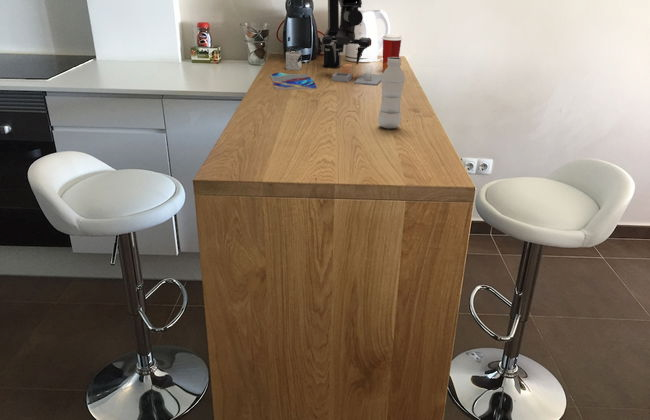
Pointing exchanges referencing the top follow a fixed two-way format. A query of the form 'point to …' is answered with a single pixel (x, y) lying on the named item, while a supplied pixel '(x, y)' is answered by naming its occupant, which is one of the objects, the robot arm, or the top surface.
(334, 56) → the robot arm
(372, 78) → the keeper
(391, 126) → the plastic bottle
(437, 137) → the top surface
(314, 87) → the multicolored flat slab
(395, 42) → the coffee cup
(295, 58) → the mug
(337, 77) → the square frame with handle
